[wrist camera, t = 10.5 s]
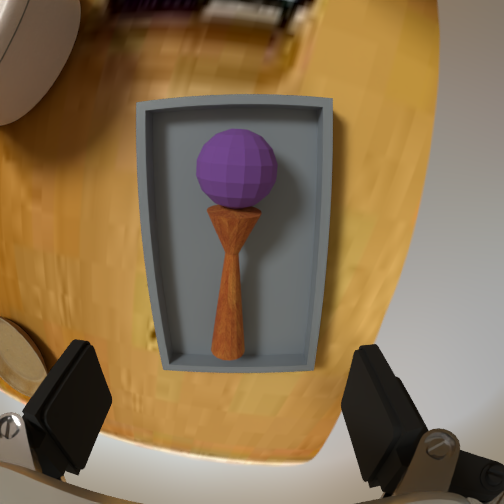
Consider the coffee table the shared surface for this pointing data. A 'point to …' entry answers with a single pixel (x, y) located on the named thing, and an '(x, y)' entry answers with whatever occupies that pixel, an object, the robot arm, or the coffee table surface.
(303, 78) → the coffee table surface
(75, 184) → the coffee table surface
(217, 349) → the kendama
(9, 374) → the plant saucer
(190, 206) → the tray
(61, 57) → the container
